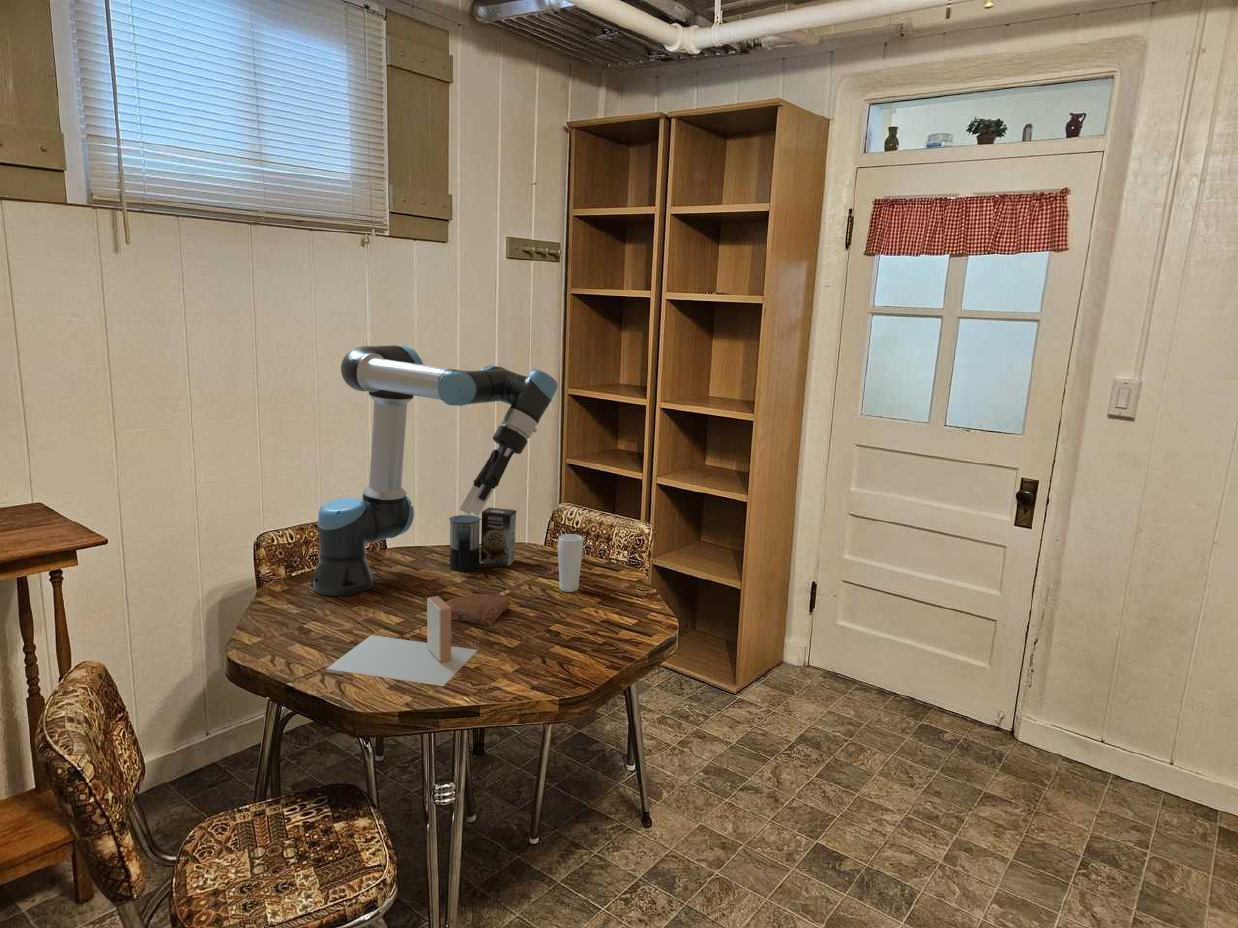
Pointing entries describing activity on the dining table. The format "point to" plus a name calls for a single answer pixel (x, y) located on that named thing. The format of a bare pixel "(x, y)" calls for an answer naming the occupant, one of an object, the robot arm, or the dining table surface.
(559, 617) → the dining table surface
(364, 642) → the grey mat
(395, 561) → the dining table surface
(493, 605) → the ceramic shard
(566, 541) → the drinking glass
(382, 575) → the dining table surface
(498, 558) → the dark cardboard box
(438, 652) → the terracotta tile
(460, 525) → the milk frother
